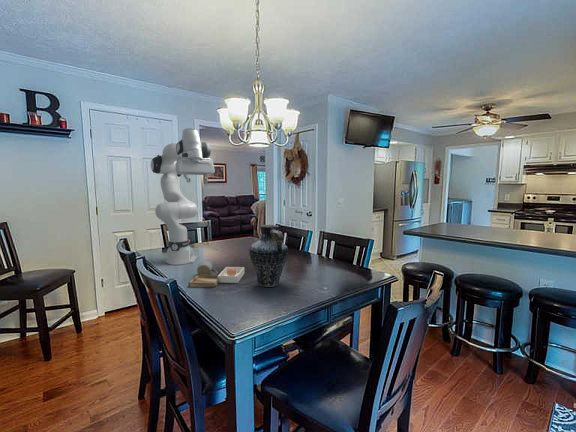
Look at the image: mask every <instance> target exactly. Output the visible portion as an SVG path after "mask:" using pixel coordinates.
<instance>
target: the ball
mask: <svg viewBox="0 0 576 432" xmlns="http://www.w3.org/2000/svg"><path fill="white" fill-rule="evenodd" d="M230 267H231V268H229V269H228V270H227V275H228V276H235V275H236V269H235V268H232V267H233V266H230Z"/></svg>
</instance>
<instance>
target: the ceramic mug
mask: <svg viewBox="0 0 576 432" xmlns="http://www.w3.org/2000/svg"><path fill="white" fill-rule="evenodd" d="M196 272H197V275H218V271H217V270H216V269H215V268H214V267H213V263H212V262H211V261H209V260H207V259H204V260H201V261H200V262H199V264H198V265H197V269H196Z"/></svg>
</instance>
